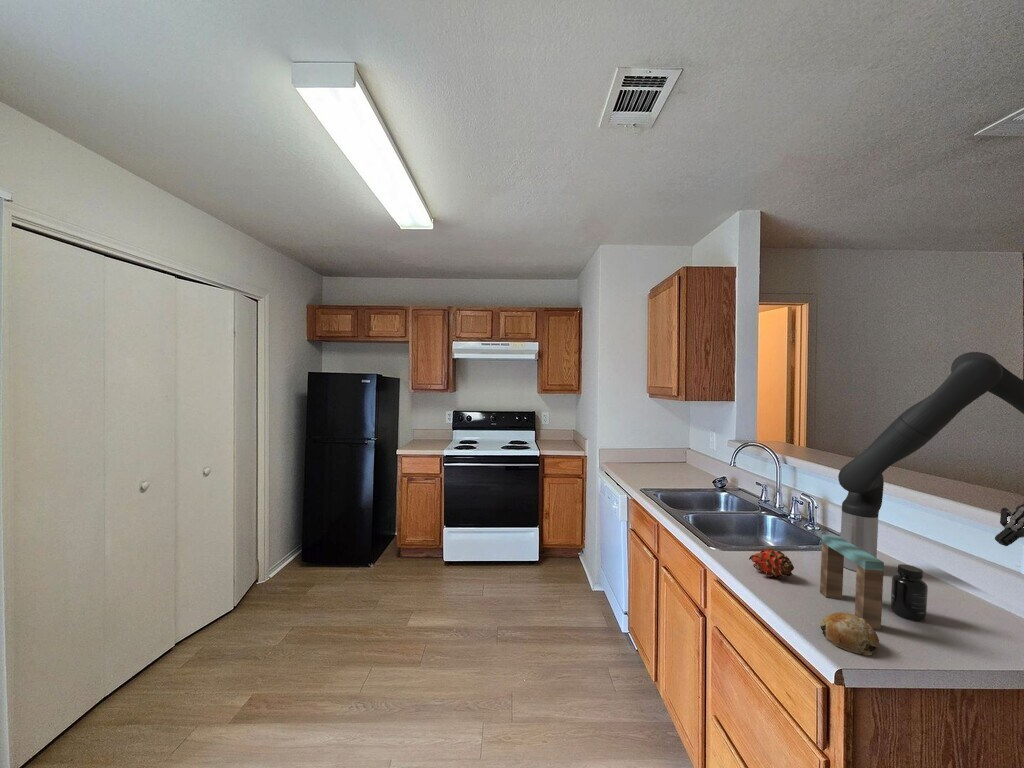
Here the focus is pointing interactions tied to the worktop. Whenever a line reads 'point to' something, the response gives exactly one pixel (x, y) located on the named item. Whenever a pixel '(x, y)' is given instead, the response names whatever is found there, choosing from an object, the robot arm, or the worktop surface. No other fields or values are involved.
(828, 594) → the gate
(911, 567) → the supplement bottle
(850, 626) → the bread roll
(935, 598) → the worktop surface
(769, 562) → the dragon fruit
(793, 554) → the worktop surface
